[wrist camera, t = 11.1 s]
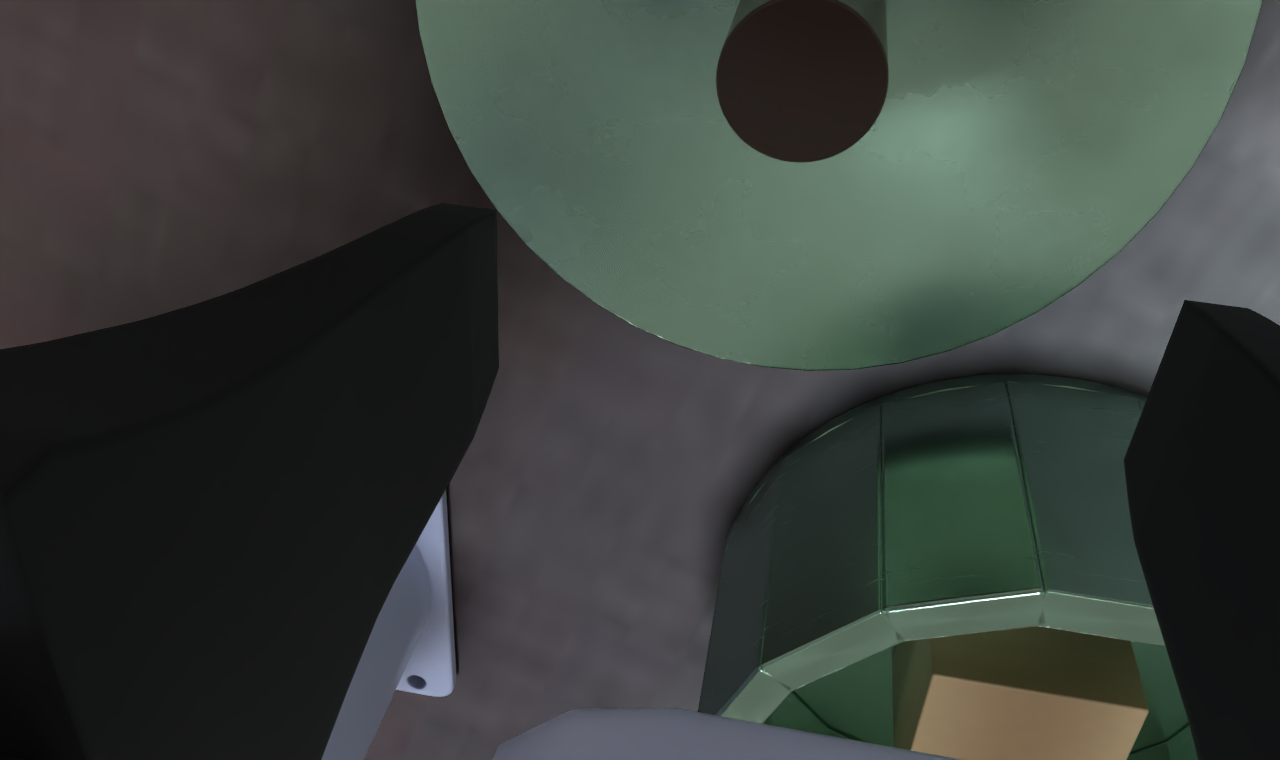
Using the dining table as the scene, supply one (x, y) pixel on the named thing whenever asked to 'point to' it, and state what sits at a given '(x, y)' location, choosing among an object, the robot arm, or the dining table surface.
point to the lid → (830, 155)
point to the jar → (934, 552)
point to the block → (1018, 696)
